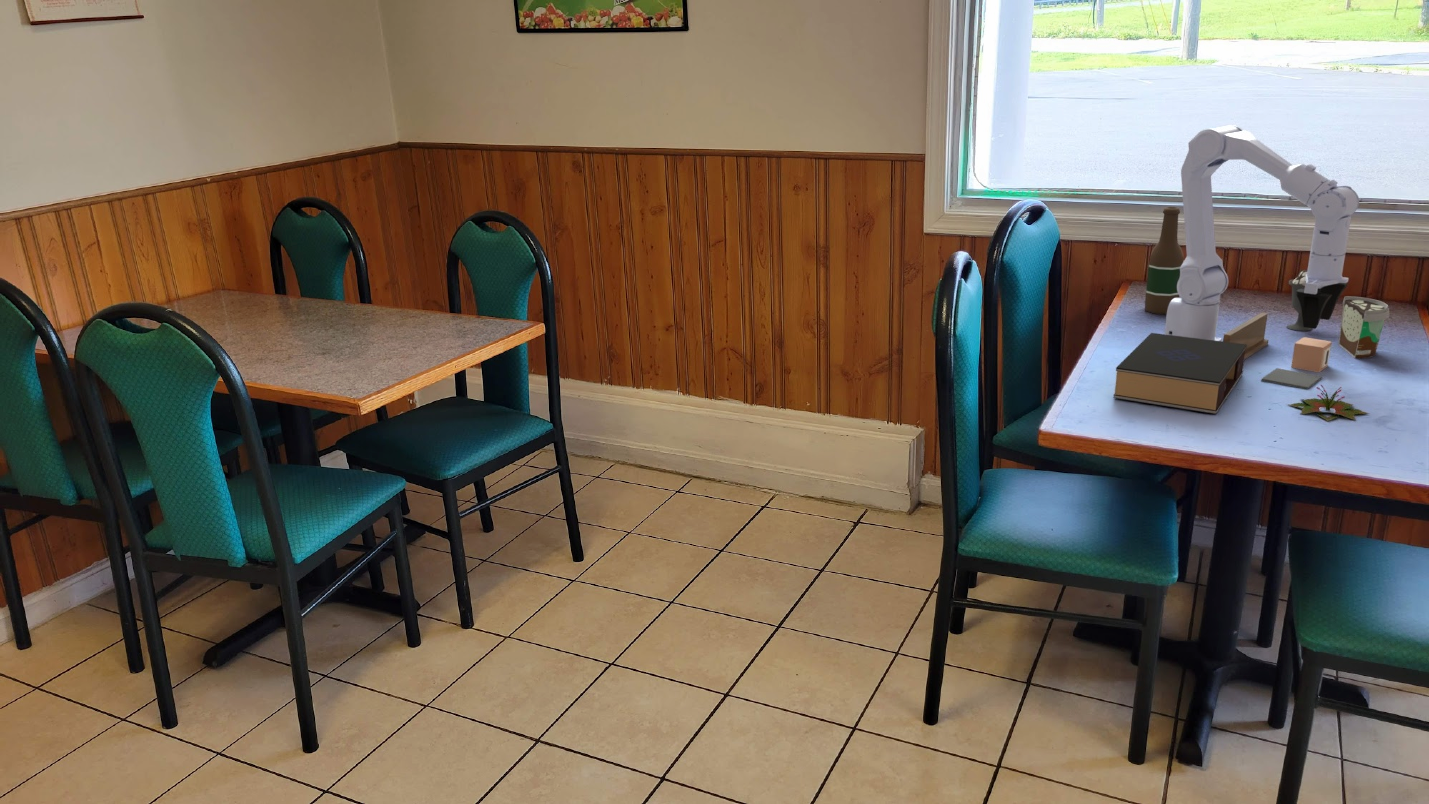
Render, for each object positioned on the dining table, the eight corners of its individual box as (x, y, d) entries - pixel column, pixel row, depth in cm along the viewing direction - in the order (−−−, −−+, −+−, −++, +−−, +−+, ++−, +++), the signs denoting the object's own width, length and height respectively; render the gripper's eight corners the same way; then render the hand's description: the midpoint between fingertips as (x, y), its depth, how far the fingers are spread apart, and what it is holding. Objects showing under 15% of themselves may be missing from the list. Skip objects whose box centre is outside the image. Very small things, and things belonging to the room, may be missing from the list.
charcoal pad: (1261, 380, 196) (1261, 378, 196) (1276, 370, 202) (1276, 368, 202) (1307, 389, 191) (1307, 387, 191) (1321, 378, 196) (1322, 376, 196)
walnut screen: (1215, 365, 206) (1219, 333, 204) (1252, 341, 219) (1256, 311, 217) (1230, 368, 204) (1235, 336, 202) (1267, 344, 217) (1272, 314, 215)
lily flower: (1327, 429, 174) (1331, 403, 173) (1272, 406, 185) (1275, 381, 184) (1384, 419, 177) (1389, 394, 176) (1326, 397, 188) (1331, 373, 187)
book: (1242, 377, 200) (1247, 344, 197) (1215, 418, 181) (1220, 382, 178) (1147, 364, 209) (1151, 332, 207) (1112, 402, 190) (1115, 367, 188)
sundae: (1309, 334, 222) (1321, 264, 217) (1277, 328, 227) (1287, 260, 222) (1322, 327, 226) (1333, 259, 221) (1289, 322, 231) (1299, 255, 226)
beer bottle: (1184, 314, 240) (1196, 209, 232) (1150, 315, 241) (1161, 211, 233) (1171, 305, 248) (1182, 204, 240) (1138, 306, 248) (1148, 205, 240)
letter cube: (1291, 367, 203) (1294, 343, 201) (1299, 361, 206) (1303, 337, 204) (1321, 373, 199) (1325, 348, 198) (1329, 366, 203) (1333, 341, 201)
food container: (1392, 361, 204) (1401, 311, 200) (1357, 360, 205) (1366, 311, 201) (1368, 343, 215) (1377, 295, 212) (1335, 342, 216) (1343, 295, 213)
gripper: (1339, 262, 188) (1327, 335, 192) (1363, 248, 197) (1351, 318, 202) (1296, 258, 193) (1286, 328, 197) (1322, 244, 202) (1311, 312, 207)
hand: (1316, 323), depth 200 cm, fingers open, 7 cm apart
